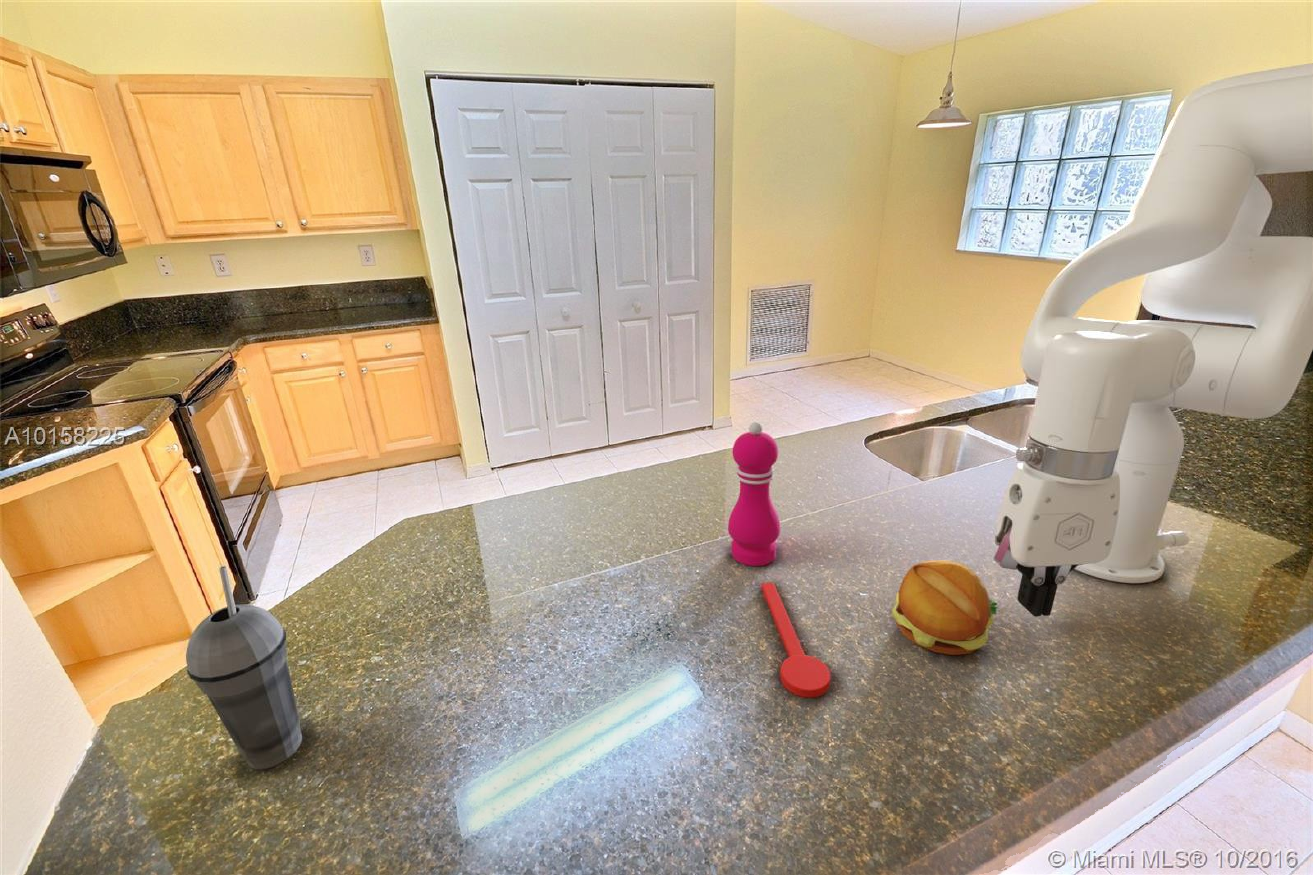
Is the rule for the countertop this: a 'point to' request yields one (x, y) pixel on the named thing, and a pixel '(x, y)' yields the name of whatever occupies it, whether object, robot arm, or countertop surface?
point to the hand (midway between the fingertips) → (1033, 608)
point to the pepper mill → (754, 499)
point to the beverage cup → (247, 679)
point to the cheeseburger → (944, 607)
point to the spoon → (796, 653)
